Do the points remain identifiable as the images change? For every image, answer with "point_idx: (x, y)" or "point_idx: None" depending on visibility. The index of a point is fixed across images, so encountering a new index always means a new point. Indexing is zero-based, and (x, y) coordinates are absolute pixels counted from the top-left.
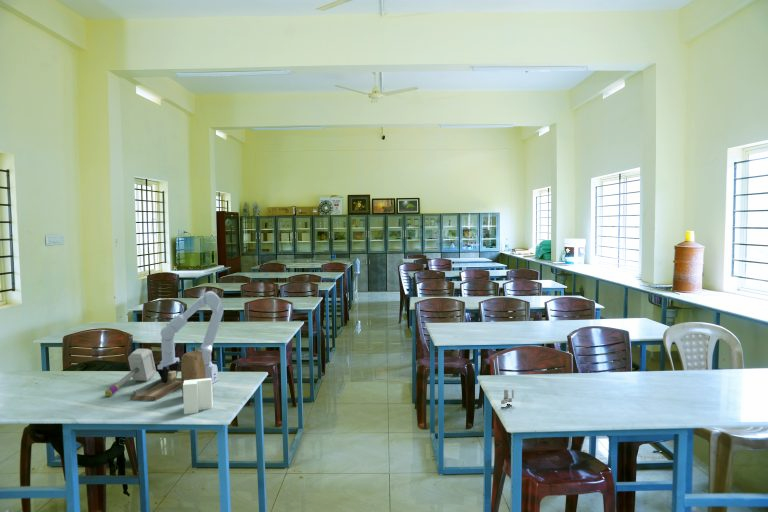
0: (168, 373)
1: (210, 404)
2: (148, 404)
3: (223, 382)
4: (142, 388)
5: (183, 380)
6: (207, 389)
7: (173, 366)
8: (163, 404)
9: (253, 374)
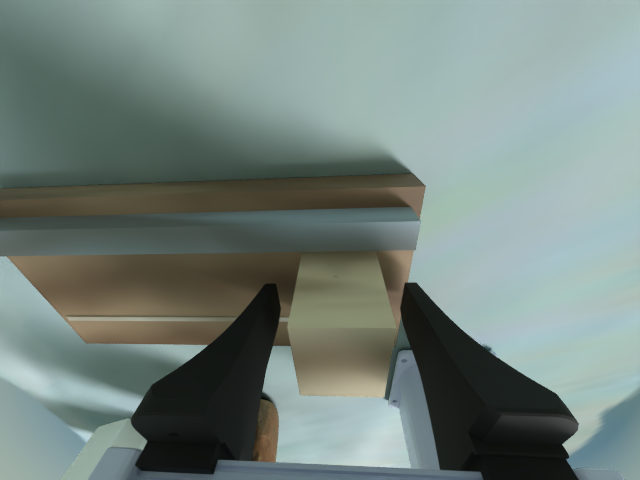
0: (297, 374)
1: None
2: (55, 320)
3: None
4: (43, 252)
5: None
6: None
7: (446, 414)
8: (104, 363)
9: None
